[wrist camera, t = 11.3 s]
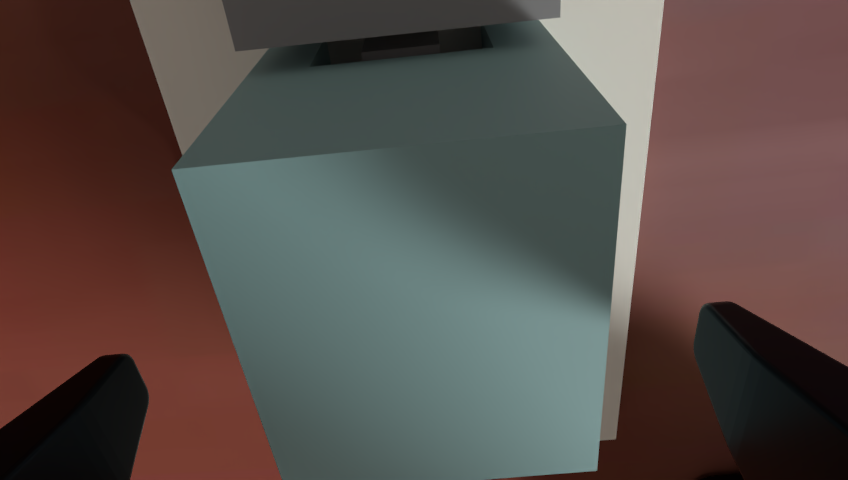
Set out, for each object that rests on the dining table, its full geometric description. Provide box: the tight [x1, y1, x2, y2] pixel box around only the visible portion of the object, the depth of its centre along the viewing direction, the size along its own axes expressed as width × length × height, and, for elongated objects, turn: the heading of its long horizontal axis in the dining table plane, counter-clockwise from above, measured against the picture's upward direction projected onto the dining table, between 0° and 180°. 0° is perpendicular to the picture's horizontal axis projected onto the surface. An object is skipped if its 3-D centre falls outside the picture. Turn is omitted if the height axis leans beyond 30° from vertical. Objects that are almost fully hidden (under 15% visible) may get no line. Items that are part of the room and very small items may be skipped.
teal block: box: [171, 20, 627, 480], centre depth 13 cm, size 7×6×7 cm
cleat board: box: [130, 0, 664, 441], centre depth 16 cm, size 18×12×4 cm, turn 6°
